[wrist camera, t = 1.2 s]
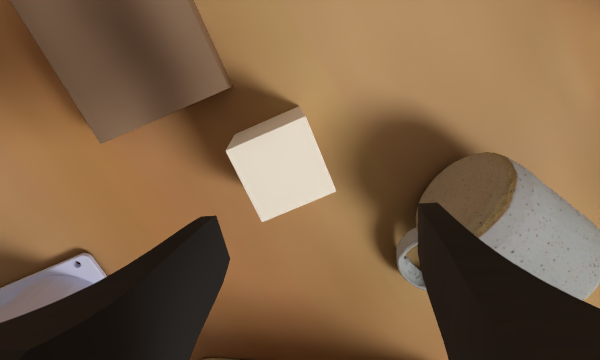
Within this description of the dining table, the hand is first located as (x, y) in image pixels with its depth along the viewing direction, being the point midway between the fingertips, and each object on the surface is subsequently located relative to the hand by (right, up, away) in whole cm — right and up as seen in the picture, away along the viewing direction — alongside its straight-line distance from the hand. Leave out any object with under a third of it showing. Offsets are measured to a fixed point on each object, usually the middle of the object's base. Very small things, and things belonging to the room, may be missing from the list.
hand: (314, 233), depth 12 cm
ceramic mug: (+11, -1, +13) cm, 17 cm away
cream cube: (-2, +4, +10) cm, 11 cm away
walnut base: (-10, +10, +8) cm, 16 cm away
